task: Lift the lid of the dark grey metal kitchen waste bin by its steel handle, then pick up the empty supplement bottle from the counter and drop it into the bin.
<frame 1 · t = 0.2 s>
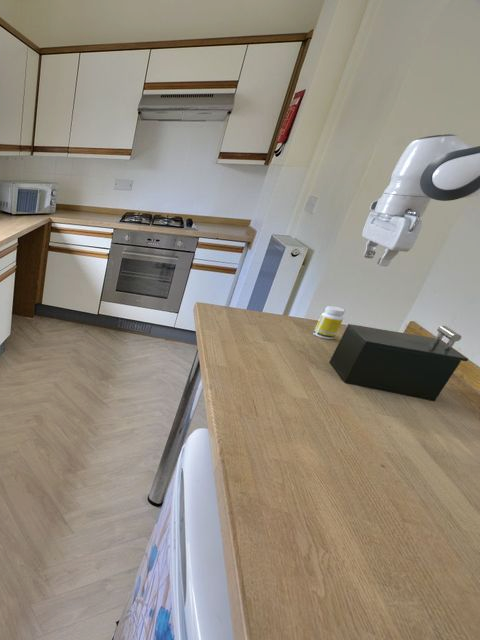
hand: (374, 261, 108), 21 cm above the countertop, tool pointing down, fingers open, 8 cm apart
supplement bottle: (322, 336, 116), on the countertop
bin: (377, 380, 94), on the countertop
bin lid: (407, 333, 88), point 12 cm above the countertop, hinge at 0.0°
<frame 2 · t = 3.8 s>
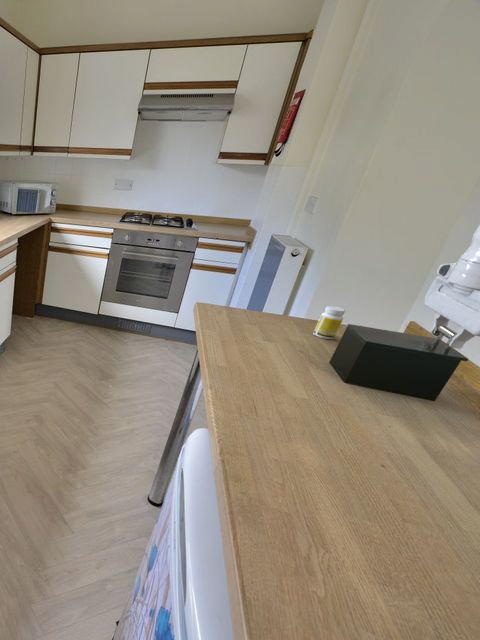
hand: (444, 340, 86), 12 cm above the countertop, tool pointing down, fingers closed on bin lid, 5 cm apart
bin lid: (407, 333, 88), point 12 cm above the countertop, hinge at 0.0°, touching gripper
everything else where it was.
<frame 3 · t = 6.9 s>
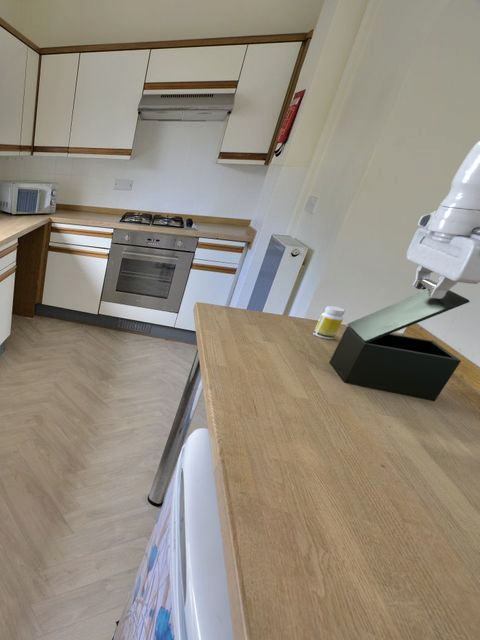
hand: (426, 292, 84), 21 cm above the countertop, tool pointing down, fingers closed on bin lid, 5 cm apart
bin lid: (397, 307, 87), point 17 cm above the countertop, hinge at 45.7°, touching gripper
everything else where it was.
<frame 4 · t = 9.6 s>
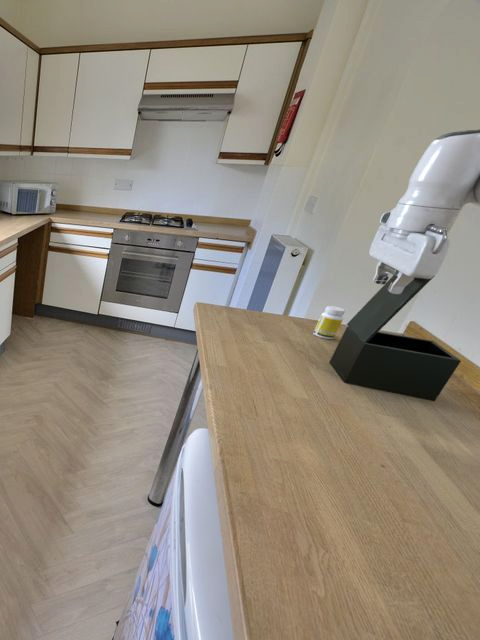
hand: (385, 287, 87), 21 cm above the countertop, tool pointing down, fingers open, 6 cm apart
bin lid: (377, 298, 88), point 19 cm above the countertop, hinge at 73.7°
everything else where it was.
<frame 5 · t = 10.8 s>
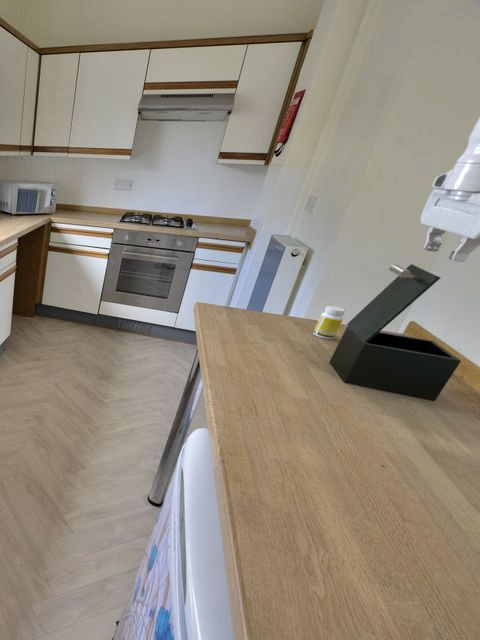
hand: (442, 255, 81), 29 cm above the countertop, tool pointing down, fingers open, 8 cm apart
bin lid: (380, 299, 88), point 19 cm above the countertop, hinge at 70.2°
everything else where it was.
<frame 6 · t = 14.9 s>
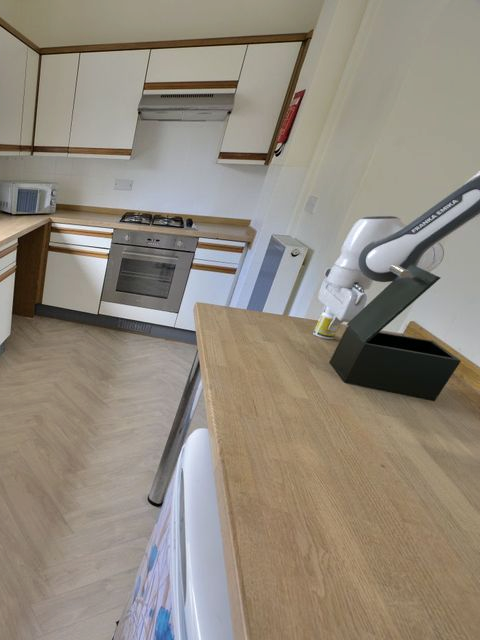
hand: (327, 325, 114), 3 cm above the countertop, tool pointing down, fingers closed on supplement bottle, 5 cm apart
supplement bottle: (322, 336, 116), on the countertop, touching gripper
everything else where it was.
when the fingers open (10 cm above the countertop, at t = 23.2 s): supplement bottle drops 6 cm, resting on bin.
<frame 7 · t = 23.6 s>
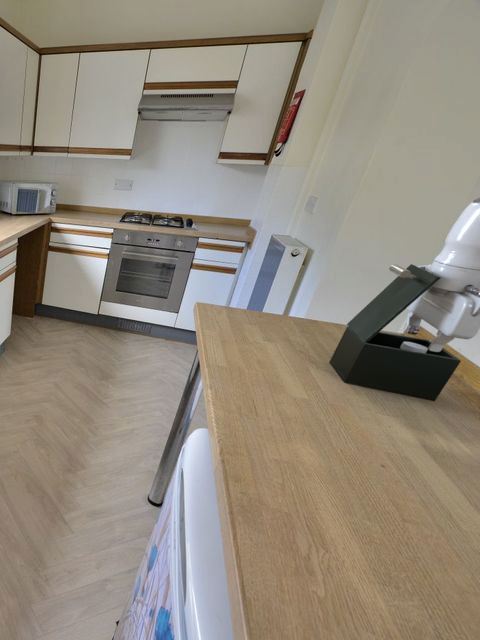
hand: (420, 341, 88), 11 cm above the countertop, tool pointing down, fingers open, 8 cm apart
supplement bottle: (394, 379, 93), point 1 cm above the countertop, touching bin
everything else where it was.
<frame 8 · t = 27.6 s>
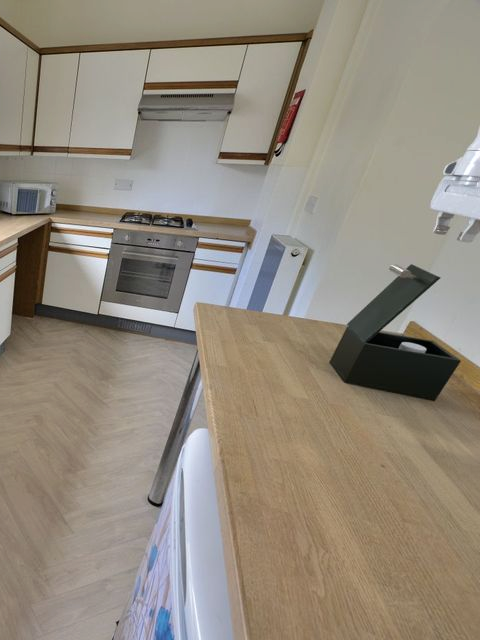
hand: (450, 237, 88), 31 cm above the countertop, tool pointing down, fingers open, 8 cm apart
nothing on the countertop moved.
at the end: bin lid at +70° (first picture: +0°); supplement bottle inside the target area in the bin (3.3 cm from its centre), point 0.6 cm above the bin's base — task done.
